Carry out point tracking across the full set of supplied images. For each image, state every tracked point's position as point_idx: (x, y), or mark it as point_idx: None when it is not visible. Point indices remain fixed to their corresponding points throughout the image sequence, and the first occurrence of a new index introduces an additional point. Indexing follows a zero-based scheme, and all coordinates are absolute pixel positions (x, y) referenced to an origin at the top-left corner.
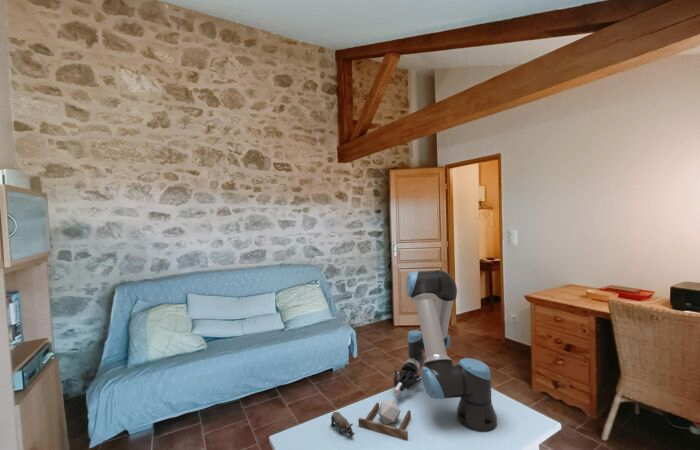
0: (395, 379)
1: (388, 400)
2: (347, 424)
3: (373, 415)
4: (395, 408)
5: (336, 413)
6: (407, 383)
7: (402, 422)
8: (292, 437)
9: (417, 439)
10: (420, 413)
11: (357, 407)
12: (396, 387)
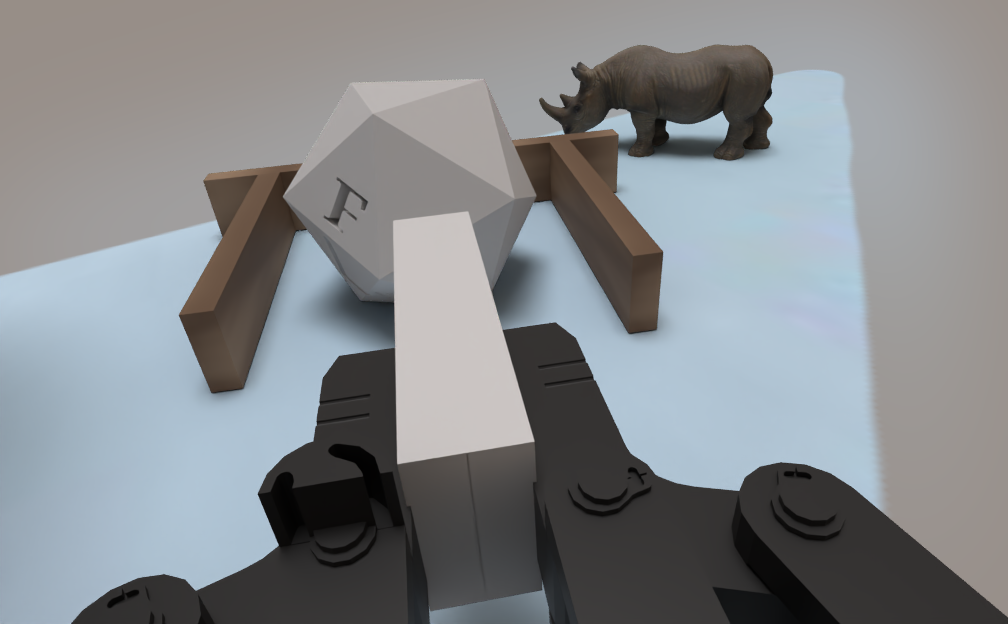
0: (870, 589)
1: (421, 97)
2: (597, 65)
3: (581, 226)
4: (322, 132)
5: (726, 46)
6: (158, 586)
7: (259, 203)
8: (804, 85)
9: (146, 258)
10: (51, 524)
11: (847, 271)
12: (464, 254)
